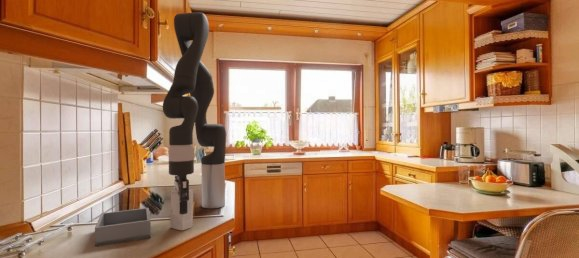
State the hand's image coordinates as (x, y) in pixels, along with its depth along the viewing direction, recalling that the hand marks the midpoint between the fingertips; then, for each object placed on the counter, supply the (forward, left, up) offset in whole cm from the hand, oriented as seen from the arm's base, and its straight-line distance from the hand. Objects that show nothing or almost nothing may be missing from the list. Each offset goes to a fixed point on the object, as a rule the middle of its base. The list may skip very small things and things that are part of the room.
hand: (181, 210), depth 95 cm
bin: (-3, -16, -5) cm, 17 cm away
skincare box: (0, 0, -6) cm, 6 cm away
